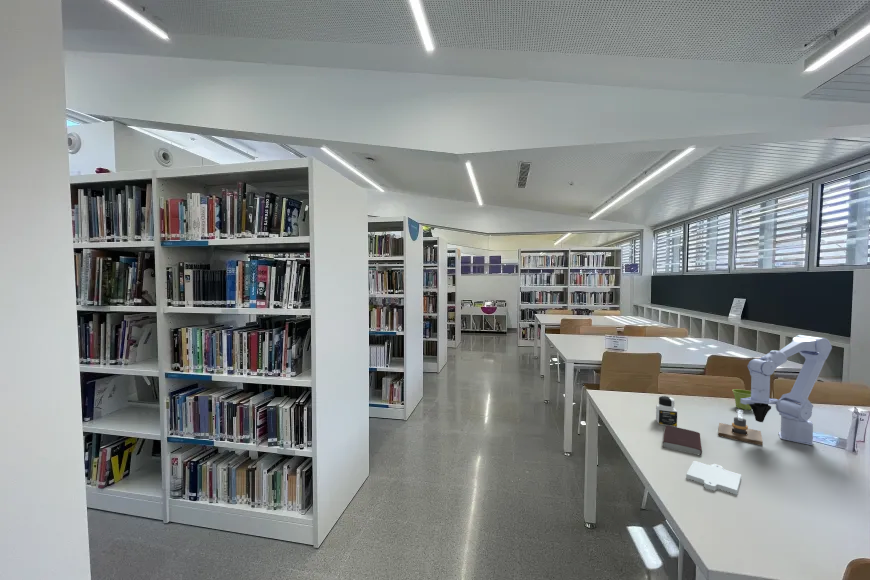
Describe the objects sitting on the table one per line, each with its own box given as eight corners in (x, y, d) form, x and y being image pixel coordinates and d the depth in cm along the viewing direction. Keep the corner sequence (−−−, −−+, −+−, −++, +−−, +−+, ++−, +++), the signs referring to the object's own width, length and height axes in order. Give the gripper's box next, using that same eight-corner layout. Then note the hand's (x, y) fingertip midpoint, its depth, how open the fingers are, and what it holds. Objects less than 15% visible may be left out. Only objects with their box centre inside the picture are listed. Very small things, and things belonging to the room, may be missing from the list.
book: (700, 439, 150) (700, 431, 150) (702, 457, 134) (702, 448, 134) (664, 432, 158) (664, 424, 157) (662, 448, 142) (662, 440, 142)
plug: (747, 435, 154) (747, 418, 154) (747, 438, 150) (748, 422, 150) (731, 431, 157) (732, 415, 157) (731, 435, 153) (732, 419, 153)
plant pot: (727, 404, 193) (727, 388, 193) (747, 405, 192) (747, 389, 191) (739, 410, 184) (740, 393, 183) (760, 411, 182) (760, 394, 182)
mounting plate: (695, 463, 130) (695, 458, 130) (741, 477, 121) (742, 471, 121) (684, 482, 117) (684, 476, 117) (736, 499, 108) (736, 493, 108)
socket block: (760, 434, 154) (761, 417, 154) (762, 445, 144) (763, 426, 144) (719, 425, 163) (719, 409, 163) (718, 435, 153) (718, 418, 153)
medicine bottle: (658, 424, 164) (659, 398, 164) (655, 419, 171) (656, 394, 171) (677, 427, 162) (677, 400, 162) (673, 421, 168) (673, 396, 168)
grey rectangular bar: (736, 411, 160) (736, 408, 160) (743, 412, 158) (743, 410, 158) (736, 420, 150) (736, 417, 150) (744, 421, 148) (744, 418, 148)
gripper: (751, 391, 144) (750, 424, 144) (787, 391, 144) (786, 425, 145) (736, 386, 151) (735, 418, 152) (770, 386, 151) (769, 418, 152)
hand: (759, 421), depth 149 cm, fingers closed
